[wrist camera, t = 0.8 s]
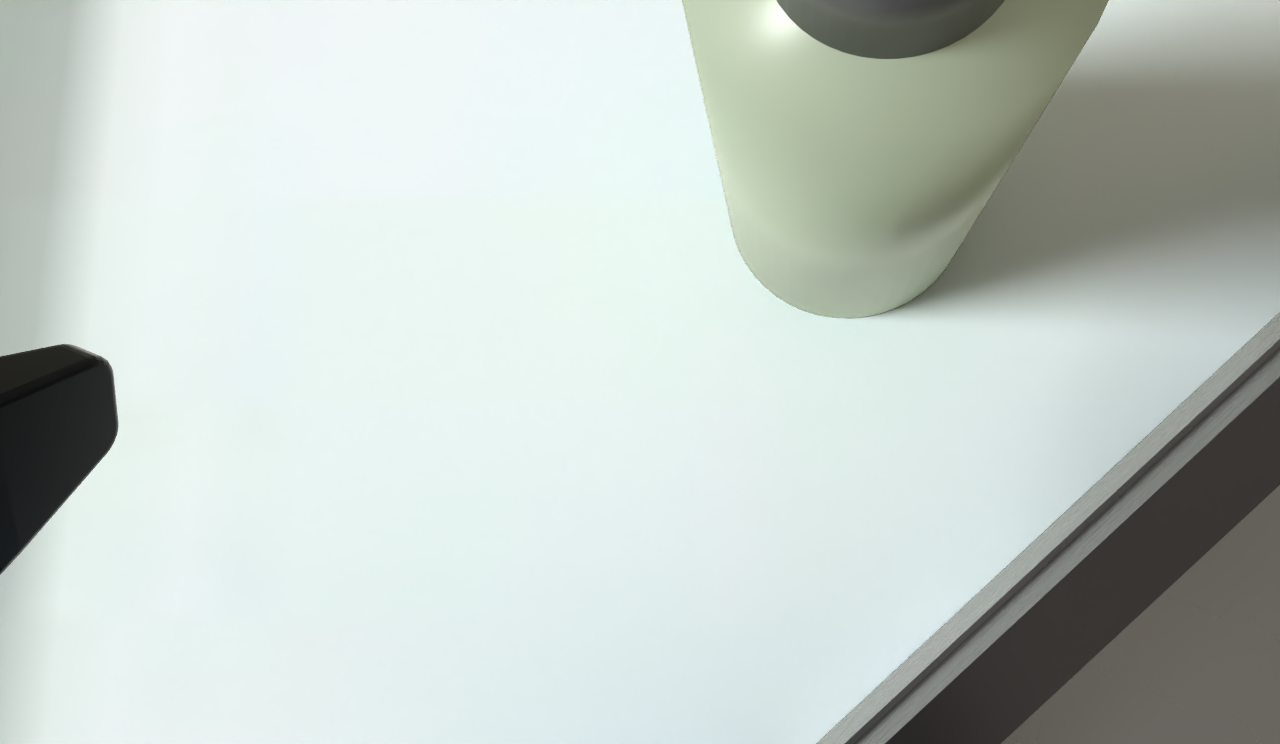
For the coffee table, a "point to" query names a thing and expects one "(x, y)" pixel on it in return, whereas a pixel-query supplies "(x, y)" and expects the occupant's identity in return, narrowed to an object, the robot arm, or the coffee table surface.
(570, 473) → the coffee table surface
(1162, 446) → the grey tray with cylinder
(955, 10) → the pale green bottle
